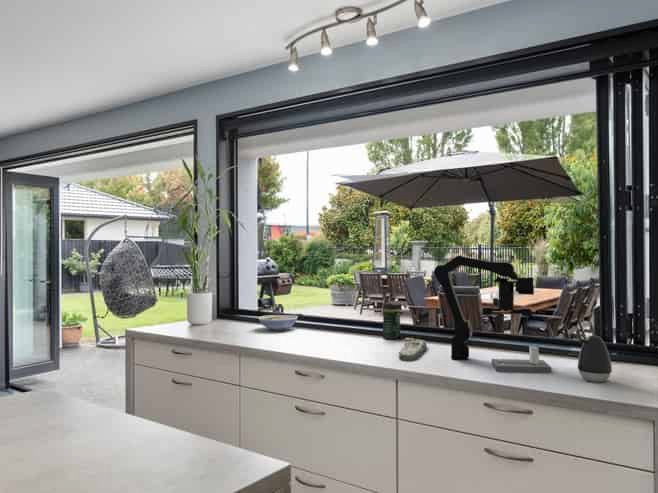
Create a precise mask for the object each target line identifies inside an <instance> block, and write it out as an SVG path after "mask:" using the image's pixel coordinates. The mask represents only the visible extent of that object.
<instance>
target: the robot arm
mask: <svg viewBox="0 0 658 493" xmlns="http://www.w3.org/2000/svg"><path fill="white" fill-rule="evenodd" d="M461 266H463V267H468V268H473V269H477V270H483V271H488V272H490V273H493V274H495V275H498V276H496V278H495V279H494V280H493V283H498V297H495V298H494V297H493V298H492V306H485V305H483V306H481V307H480V313H481V315H483V316H484V317H485V318H487V319H488V321H489V324H490V327H491V330H492V333H493V334H494V333H495V332H496V331H495V320H494V315H493V314H504V315H505V314H508V315H509V314H510V315H518V316H517V318H518V321H517V329H516V331H517V334H520V331H521V329H522V327H523V325H524V323H525V322H526V319H529V318H530V317H533V310H532V309H531V308H530V307H519V308H517V309H516V308H515V306H514V305H515V301H514V299H515V292H516V293H518V295H525V296H526V295H528V296H529V295H531V296H534V294H535V285H534V277H532V276H531V277H530V276H528V277H520V276H519V275H518V274H517V273H516V272H515V266H514V265H513V263H511V262H508V261H488V260H483V259H476V258H473V257H468V256H467V257H466V256H463V255H457V256H455V257H454V258H453V259H451V260H449V261H447V262H445V263H444V264H440V265H437V266H436V267H435V268H434V269H433V275H434V277H435V279H436V280H437V282H438V283H439V285H440V286H441V288H442V290H443V294H444V295H445V298H446V302H447V304H448V307H449V310H450V312H451V315H452V318H453V323H454V324H453V325H454V326H453V327H454V332H455V334H454V335H453V337H452V338H450V350H451V355H450V357H451V360H455V361H457V360H461V361H462V360H464V361H468V360H469V358H470V347H469V346H468V342H467V341H468V340H469V339H470V338H471V337H472V335H473V329H474V328H473V326H472V324H471V319H466V318H465V316H464V314H463V311H462V308H461V306H460V303H459V300H458V297H457V294H456V291H455V288H454V286H453V276H452V272H453V271H454V270H456V269H458V268H459V267H461ZM500 276H501V277H500ZM509 279H510V280H509ZM494 307H495V308H494Z"/></svg>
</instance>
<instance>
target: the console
mask: <svg viewBox="0 0 658 493" xmlns="http://www.w3.org/2000/svg"><path fill="white" fill-rule="evenodd" d="M491 365H492V366H493V369H494V370H495V372H496V373H497V372H505V373H506V372H507V373H508V372H509V373H538V374H539V373H541V374H551V373H552V366H550V364H548V363H547V362H546V361H545V360H544V359H539V364H532V363H531V362H530V359H516V358H515V359H514V358H513V359H510V358H509V359H508V358H491Z"/></svg>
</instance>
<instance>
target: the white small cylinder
mask: <svg viewBox="0 0 658 493" xmlns="http://www.w3.org/2000/svg"><path fill="white" fill-rule="evenodd" d="M528 348H529V360H530V362H531V363H532V364H539V360H540V356H539V355H540V354H539V352H540V349H539V347H537V346H533V345H532V346H531V345H529V346H528Z"/></svg>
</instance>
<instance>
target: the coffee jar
mask: <svg viewBox="0 0 658 493" xmlns="http://www.w3.org/2000/svg"><path fill="white" fill-rule="evenodd" d="M382 314H383V315H382V316H383V317H382V320H383V322H382V338H383V339H386V340H390V339H391V340H396V339H399V338H398V337H399V333H400V331H402V330H401V303H400V302H399V301H388V302H387V301H386V302H384V303H383V304H382Z"/></svg>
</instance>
